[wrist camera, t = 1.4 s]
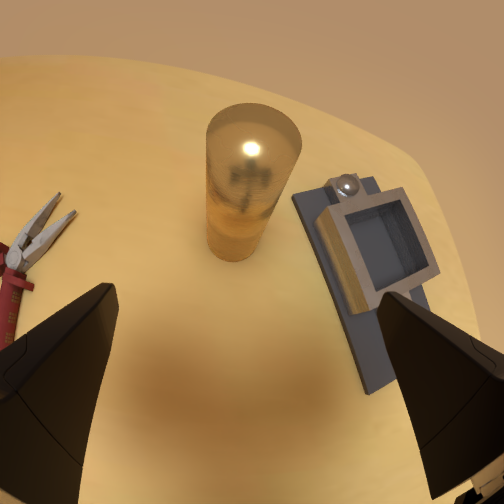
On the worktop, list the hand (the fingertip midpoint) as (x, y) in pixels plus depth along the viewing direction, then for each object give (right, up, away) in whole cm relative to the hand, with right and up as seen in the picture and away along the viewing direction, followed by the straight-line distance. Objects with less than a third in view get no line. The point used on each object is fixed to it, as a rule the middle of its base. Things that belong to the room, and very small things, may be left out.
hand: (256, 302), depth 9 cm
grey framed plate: (+10, 0, +14) cm, 18 cm away
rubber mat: (+10, -1, +15) cm, 18 cm away
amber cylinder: (-2, +3, +14) cm, 15 cm away
